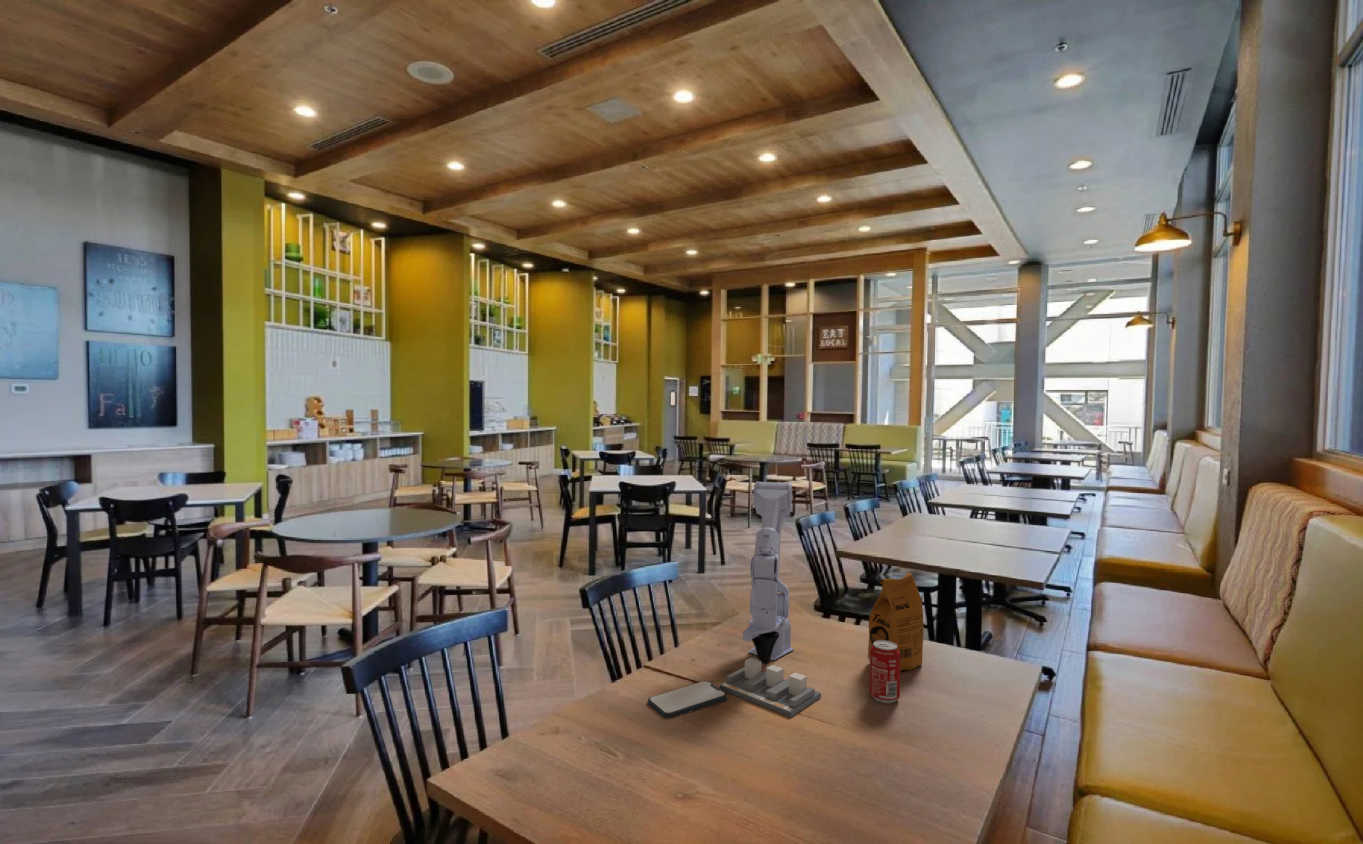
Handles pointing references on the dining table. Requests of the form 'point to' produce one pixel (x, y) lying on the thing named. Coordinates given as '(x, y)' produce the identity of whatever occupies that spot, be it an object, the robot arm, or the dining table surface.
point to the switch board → (763, 694)
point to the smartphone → (687, 699)
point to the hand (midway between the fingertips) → (764, 662)
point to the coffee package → (899, 620)
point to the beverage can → (885, 671)
